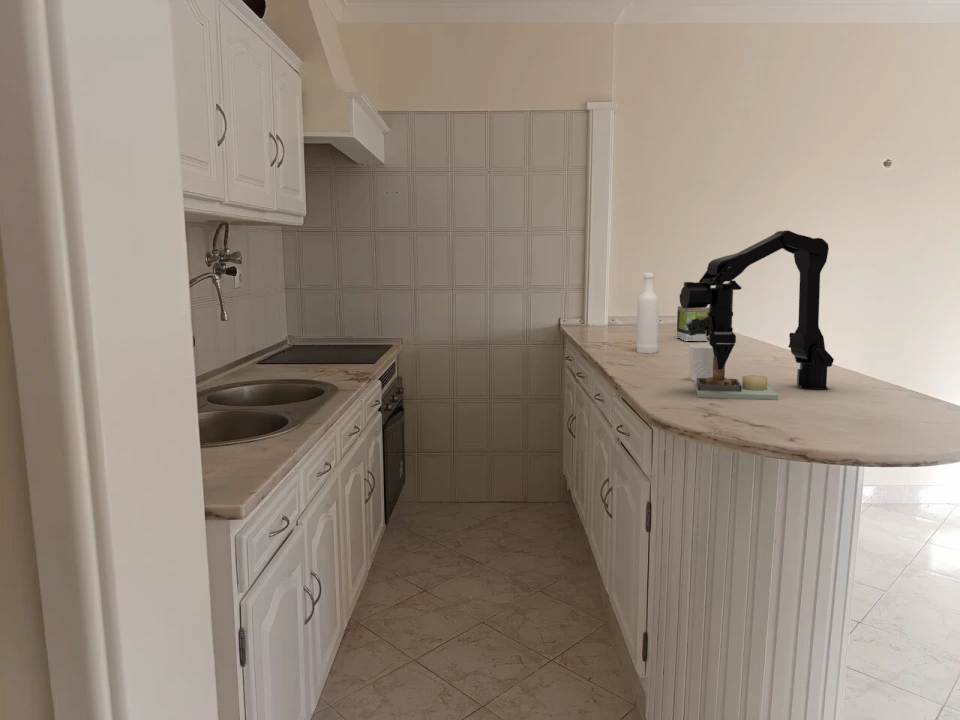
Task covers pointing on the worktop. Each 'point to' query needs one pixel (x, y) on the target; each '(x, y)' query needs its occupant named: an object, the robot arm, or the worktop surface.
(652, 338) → the bottle
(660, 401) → the worktop surface
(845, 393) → the worktop surface
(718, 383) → the planet gear
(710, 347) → the white cup
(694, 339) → the tea box
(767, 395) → the carrier plate
